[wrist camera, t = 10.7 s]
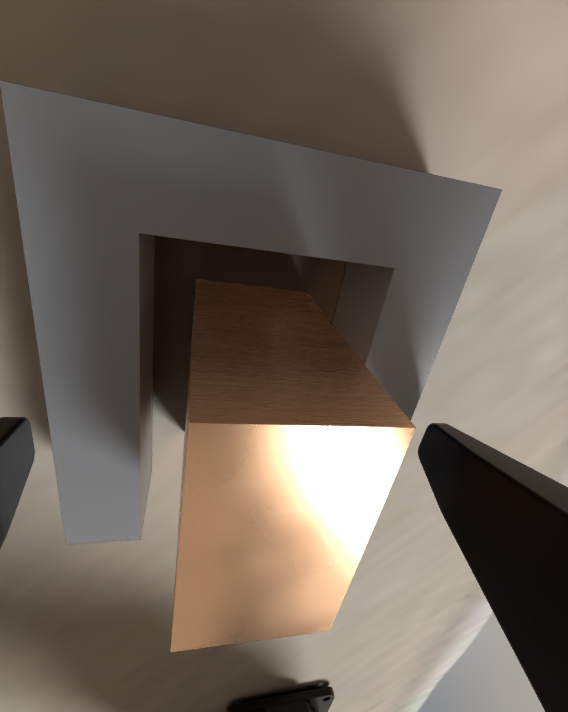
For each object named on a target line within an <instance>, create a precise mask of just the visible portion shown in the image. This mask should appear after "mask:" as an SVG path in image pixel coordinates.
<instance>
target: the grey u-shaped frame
mask: <svg viewBox="0 0 568 712" xmlns="http://www.w3.org/2000/svg"><path fill="white" fill-rule="evenodd" d="M0 88H1V95H2V102H3V109H4V116H5V123H6V130H7V137H8V144H9V151H10V158H11V165H12V172H13V179H14V185H15V192H16V199H17V206H18V213H19V220H20V227H21V234H22V241H23V248H24V255H25V262H26V269H27V276H28V283H29V290H30V297H31V304H32V311H33V318H34V325H35V332H36V339H37V346H38V353H39V360H40V367H41V373H42V380H43V387H44V394H45V401H46V408H47V415H48V422H49V429H50V436H51V443H52V450H53V457H54V464H55V471H56V478H57V485H58V492H59V499H60V506H61V513H62V520H63V527H64V534H65V541H66V545H69V544H84V543H99V542H114V541H130V540H141V535H142V529H143V523H144V517H145V510H146V504H147V498H148V492H149V486H150V479H151V473H152V412H153V327H154V242H155V236H163V237H170V238H177V239H185V240H192V241H199V242H207V243H214V244H221V245H229V246H236V247H243V248H251V249H258V250H265V251H273V252H280V253H287V254H295V255H302V256H309V257H317V258H324V259H332V260H339V261H346V262H347V265H346V270H345V274H344V278H343V282H342V286H341V290H340V294H339V298H338V302H337V306H336V310H335V315H334V319H333V323H332V325H333V326H334V327H335V328H336V330H337V331H338V332H339V333H340V335H341V336H342V337H343V338H344V340H345V341H346V342H347V343H348V344H349V346H350V347H351V348H352V349H353V351H354V352H355V353H356V354H357V356H358V357H359V358H360V359H361V361H362V362H363V363H364V364H365V366H366V367H367V368H368V369H369V370H370V372H371V373H372V374H373V375H374V377H375V378H376V379H377V380H378V382H379V383H380V384H381V385H382V387H383V388H384V389H385V390H386V392H387V393H388V394H389V395H390V396H391V398H392V399H393V400H394V401H395V403H396V404H397V405H398V406H399V408H400V409H401V410H402V411H403V413H404V414H405V415H406V416H407V418H408V419H409V420H410V421H411V418H412V416H413V413H414V411H415V408H416V405H417V403H418V400H419V398H420V395H421V393H422V390H423V388H424V385H425V383H426V380H427V378H428V375H429V373H430V370H431V368H432V365H433V363H434V360H435V358H436V355H437V353H438V350H439V348H440V345H441V342H442V340H443V337H444V335H445V332H446V330H447V327H448V325H449V322H450V320H451V317H452V315H453V312H454V310H455V307H456V305H457V302H458V300H459V297H460V295H461V292H462V290H463V287H464V285H465V282H466V279H467V277H468V274H469V272H470V269H471V267H472V264H473V262H474V259H475V257H476V254H477V252H478V249H479V247H480V244H481V242H482V239H483V237H484V234H485V232H486V229H487V227H488V224H489V222H490V219H491V216H492V214H493V211H494V209H495V206H496V204H497V201H498V199H499V196H500V194H501V191H502V189H497V188H492V187H488V186H483V185H479V184H474V183H469V182H465V181H460V180H456V179H451V178H446V177H442V176H437V175H433V174H428V173H423V172H419V171H414V170H410V169H405V168H400V167H396V166H391V165H387V164H382V163H377V162H373V161H368V160H364V159H359V158H354V157H350V156H345V155H340V154H336V153H331V152H327V151H322V150H317V149H313V148H308V147H304V146H299V145H294V144H290V143H285V142H281V141H276V140H271V139H267V138H262V137H258V136H253V135H248V134H244V133H239V132H235V131H230V130H225V129H221V128H216V127H212V126H207V125H202V124H198V123H193V122H188V121H184V120H179V119H175V118H170V117H165V116H161V115H156V114H152V113H147V112H142V111H138V110H133V109H129V108H124V107H119V106H115V105H110V104H106V103H101V102H96V101H92V100H87V99H83V98H78V97H73V96H69V95H64V94H60V93H55V92H50V91H46V90H41V89H36V88H32V87H27V86H23V85H18V84H13V83H9V82H4V81H0Z"/></svg>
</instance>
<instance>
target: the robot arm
mask: <svg viewBox="0 0 568 712" xmlns="http://www.w3.org/2000/svg"><path fill="white" fill-rule="evenodd" d="M34 455H35V450H34V444H33V438H32V432H31V426H30V422H29V420H28V419H26V418H25V417H2V418H0V548H1V546H2V544H3V542H4V540H5V538H6V535H7V533H8V530H9V528H10V525H11V522H12V519H13V517H14V514H15V511H16V508H17V506H18V503H19V500H20V497H21V495H22V492H23V489H24V486H25V483H26V481H27V478H28V475H29V472H30V470H31V467H32V464H33V461H34ZM418 456H419V459H420V462H421V464H422V466H423V469H424V471H425V474H426V476H427V479H428V481H429V483H430V486H431V488H432V491H433V493H434V496H435V498H436V501H437V503H438V505H439V508H440V510H441V512H442V514H443V516H444V518H445V520H446V522H447V524H448V526H449V528H450V530H451V532H452V534H453V536H454V538H455V539H456V541H457V543H458V545H459V547H460V549H461V551H462V553H463V555H464V557H465V559H466V561H467V562H468V564H469V566H470V568H471V570H472V572H473V574H474V576H475V578H476V580H477V582H478V584H479V585H480V587H481V589H482V591H483V593H484V595H485V597H486V599H487V601H488V603H489V605H490V607H491V608H492V610H493V612H494V614H495V616H496V618H497V620H498V622H499V624H500V626H501V628H502V630H503V631H504V633H505V635H506V637H507V639H508V641H509V643H510V645H511V647H512V649H513V651H514V653H515V654H516V656H517V658H518V660H519V662H520V664H521V666H522V668H523V670H524V672H525V674H526V676H527V677H528V679H529V681H530V683H531V685H532V687H533V689H534V691H535V693H536V694H537V697H538V699H539V701H540V702H541V704H542V706H543V708H544V710H545V712H568V487H566V486H564V485H562V484H560V483H558V482H556V481H555V480H553V479H551V478H549V477H547V476H545V475H543V474H541V473H539V472H537V471H536V470H534V469H532V468H530V467H528V466H526V465H524V464H522V463H520V462H518V461H516V460H515V459H513V458H511V457H509V456H507V455H505V454H503V453H501V452H499V451H497V450H496V449H494V448H492V447H490V446H488V445H486V444H484V443H482V442H480V441H478V440H477V439H475V438H473V437H471V436H469V435H467V434H465V433H463V432H461V431H459V430H457V429H456V428H454V427H452V426H450V425H448V424H444V423H432V424H430V425H429V426H428V427H427V429H426V431H425V434H424V436H423V438H422V441H421V443H420V445H419V448H418ZM333 699H334V692H333V688H332V687H323V688H318V689H312V690H307V691H302V692H296V693H291V694H285V695H280V696H275V697H269V698H264V699H258V700H253V701H248V702H242V703H237V704H233V705H231V706H229V707H228V708H227V711H226V712H328V710H329V708H330V706H331V703H332V701H333Z"/></svg>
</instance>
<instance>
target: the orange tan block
mask: <svg viewBox="0 0 568 712" xmlns="http://www.w3.org/2000/svg"><path fill="white" fill-rule="evenodd" d="M415 429H416V427H415V426H414V425H413V424H412V422H411V421H410V420H409V419H408V418H407V416H406V415H405V414H404V413H403V411H402V410H401V409H400V408H399V406H398V405H397V404H396V403H395V401H394V400H393V399H392V398H391V396H390V395H389V394H388V393H387V392H386V390H385V389H384V388H383V387H382V385H381V384H380V383H379V382H378V380H377V379H376V378H375V377H374V375H373V374H372V373H371V372H370V370H369V369H368V368H367V367H366V366H365V364H364V363H363V362H362V361H361V359H360V358H359V357H358V356H357V354H356V353H355V352H354V351H353V349H352V348H351V347H350V346H349V344H348V343H347V342H346V341H345V340H344V338H343V337H342V336H341V335H340V333H339V332H338V331H337V330H336V328H335V327H334V326H333V325H332V323H331V322H330V321H329V320H328V318H327V317H326V316H325V315H324V314H323V312H322V311H321V310H320V309H319V307H318V306H317V305H316V304H315V302H314V301H313V300H312V299H311V297H310V296H309V295H308V294H307V292H301V291H293V290H284V289H276V288H268V287H260V286H251V285H243V284H235V283H227V282H218V281H210V280H202V279H196V290H195V304H194V317H193V330H192V343H191V356H190V369H189V383H188V396H187V409H186V422H185V436H184V451H183V466H182V482H181V497H180V513H179V528H178V543H177V559H176V574H175V590H174V605H173V620H172V636H171V651H170V652H177V651H184V650H192V649H199V648H207V647H214V646H221V645H229V644H236V643H244V642H251V641H258V640H266V639H273V638H281V637H288V636H295V635H303V634H310V633H318V632H325V631H330V630H331V627H332V625H333V622H334V620H335V618H336V615H337V613H338V611H339V608H340V606H341V604H342V601H343V599H344V597H345V594H346V592H347V589H348V587H349V585H350V582H351V580H352V578H353V575H354V573H355V571H356V568H357V566H358V563H359V561H360V559H361V556H362V554H363V552H364V549H365V547H366V545H367V542H368V540H369V538H370V535H371V533H372V530H373V528H374V526H375V523H376V521H377V519H378V516H379V514H380V512H381V509H382V507H383V504H384V502H385V500H386V497H387V495H388V493H389V490H390V488H391V486H392V483H393V481H394V479H395V476H396V474H397V471H398V469H399V467H400V464H401V462H402V460H403V457H404V455H405V453H406V450H407V448H408V445H409V443H410V441H411V438H412V436H413V434H414V431H415Z"/></svg>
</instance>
